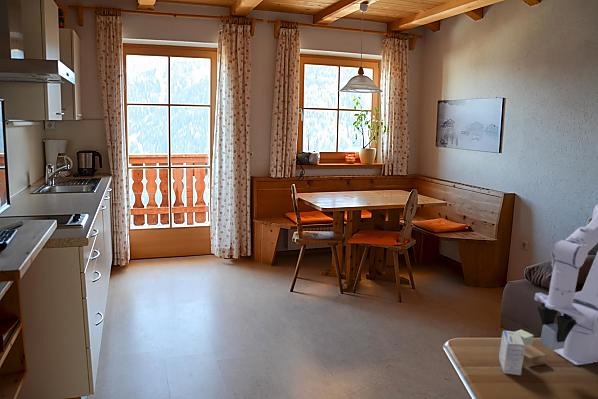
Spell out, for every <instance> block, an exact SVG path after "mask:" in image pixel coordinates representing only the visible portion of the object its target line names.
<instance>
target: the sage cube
mask: <svg viewBox="0 0 598 399" xmlns="http://www.w3.org/2000/svg"><path fill="white" fill-rule="evenodd" d="M514 332H519V333H520V336H521V338H522V340H523V342H524V345H528V344H529V345H531V346H533V340H534V334H533V333H530V332H528V331H525V330H524V329H519V330H515V331H514Z"/></svg>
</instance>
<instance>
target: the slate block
mask: <svg viewBox="0 0 598 399" xmlns="http://www.w3.org/2000/svg"><path fill="white" fill-rule="evenodd" d="M541 328H542V329H541V334H540V341H539V343H540V344H541V345H544V346H545V347H547V348H548V349H549V350H552V351H554V350H557V349H562V348H564V345H565V342H558V341H557V332H558V323H555V322H554V323H553V324H546V325H543V327H541Z"/></svg>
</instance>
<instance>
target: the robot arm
mask: <svg viewBox="0 0 598 399" xmlns="http://www.w3.org/2000/svg"><path fill="white" fill-rule="evenodd" d="M591 215H592V216H591V217H592V218H591V220H590V221H589V223H588V224H587V225H586V226H580V227H578V228H577V229H576V230H575V231H573V232H572V233H571V234H570V235H569V236H568V237H566V239H565V240H564V239H561V240H558V241H556V242H555V243H554V244H553V246H552V248H551V252H550V259H551V264H550V265H551V269H552V272H551V278H550V279H551V280H550V283H549V284H550V285H549V289H548V290H549V292H548V294H546V293H545V294H544V293H543V292H536V293H534V301H536V302H540V303H541V304H540V305H538V306H537V308H536V310H537V311H538V313H539V316H540V319H541V320H540V321H541V326H542V327H543V325H546V324H553V323H555V319H556V321H557V323H556V324H557V325H558V332H557V341H558V342H565V345H564V348H561V349H555V350H553V352H554V353H556V354H558V355H560V357H562V358H564V359H565V360H567V361H569V362H570V363H571V364H573V365H575V366H580V365H582V366H583V365H587V364H593V363H594V362H595V363H598V362H597V361H598V251H597V252H596V255H595V258H594V259H593V262H592V264H591V267H590V269H589V272H588V275H587V276H586V280H585V282H584V285H583V287H582V289H581V290H580V291H576V289H577V288H576V287H577V282H578V277H579V272H580V268H581V267H582V266H583V265H584V263H585V261H586V259H587V258H588V256H589V252H590V251H591V250H592V249H593V248H594V247H595V246H596V245H598V204H596V205H595V206H594V208H593V212H592V214H591ZM558 313H560V314H561V315H557V314H558ZM542 327H541V328H542ZM595 363H594V364H595Z"/></svg>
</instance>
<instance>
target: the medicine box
mask: <svg viewBox="0 0 598 399" xmlns="http://www.w3.org/2000/svg"><path fill="white" fill-rule="evenodd" d="M524 351H525V345H524V342H523V340H522V338H521V336H520V333H519V332H515V331H511V330H502V333H501V340H500V347H499V352H498V353H499V354H498V359H499V360H498V361H499V363H500V367H501V369H502V372H503V374H506V375H515V376H522V370H523V365H524V364H523V357H524Z"/></svg>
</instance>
